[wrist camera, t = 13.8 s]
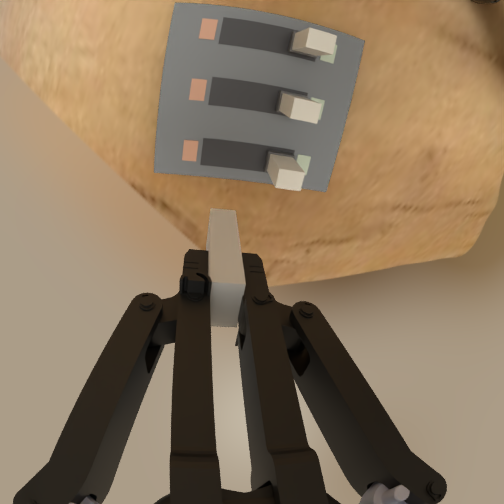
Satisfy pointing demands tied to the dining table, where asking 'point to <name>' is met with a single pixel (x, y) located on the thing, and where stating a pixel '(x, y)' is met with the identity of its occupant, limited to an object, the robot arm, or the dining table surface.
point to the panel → (248, 95)
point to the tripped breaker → (284, 170)
